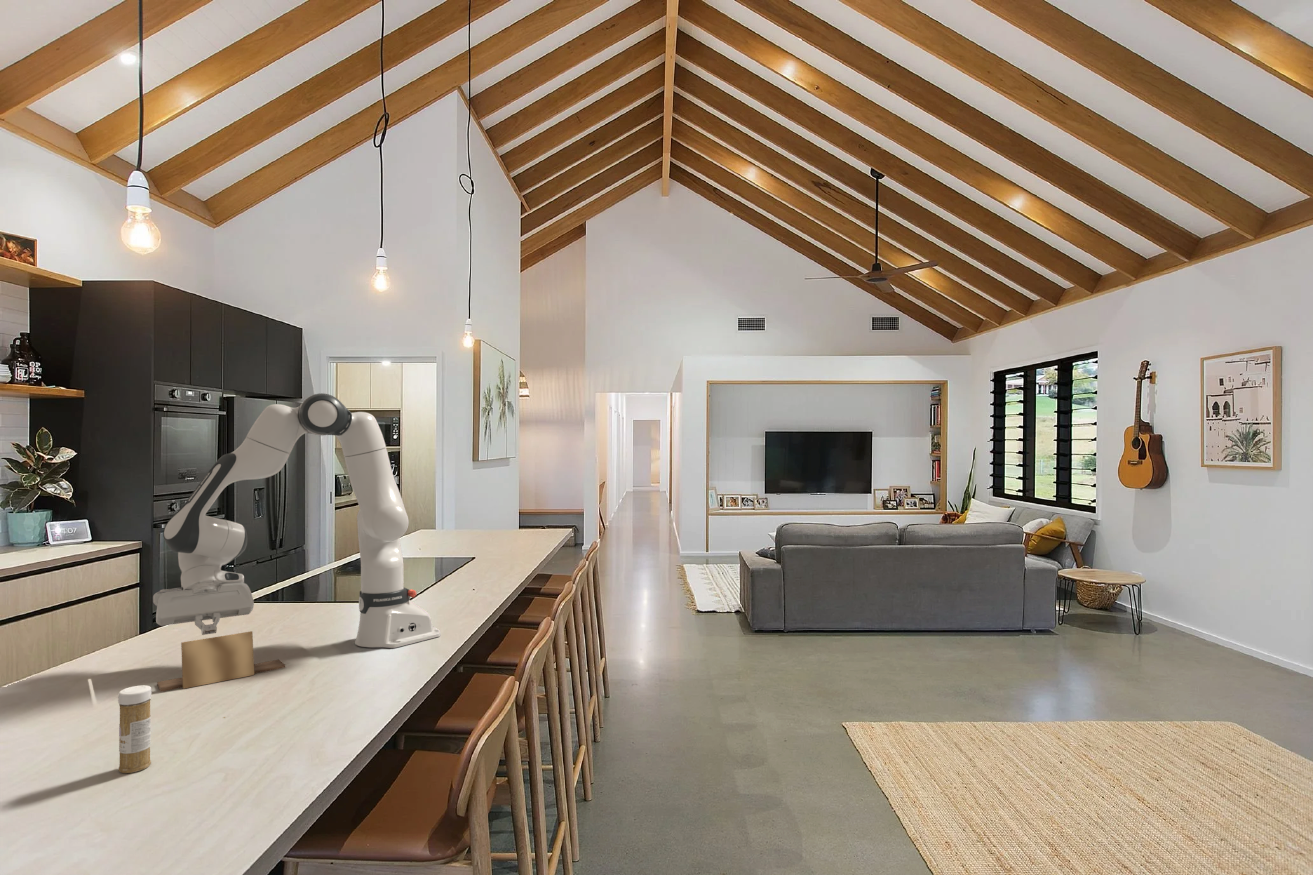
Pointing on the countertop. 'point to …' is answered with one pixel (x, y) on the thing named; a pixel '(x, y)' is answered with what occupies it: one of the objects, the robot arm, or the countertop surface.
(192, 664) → the oak plank
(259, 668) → the walnut floorboard
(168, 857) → the countertop surface
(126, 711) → the spice jar
